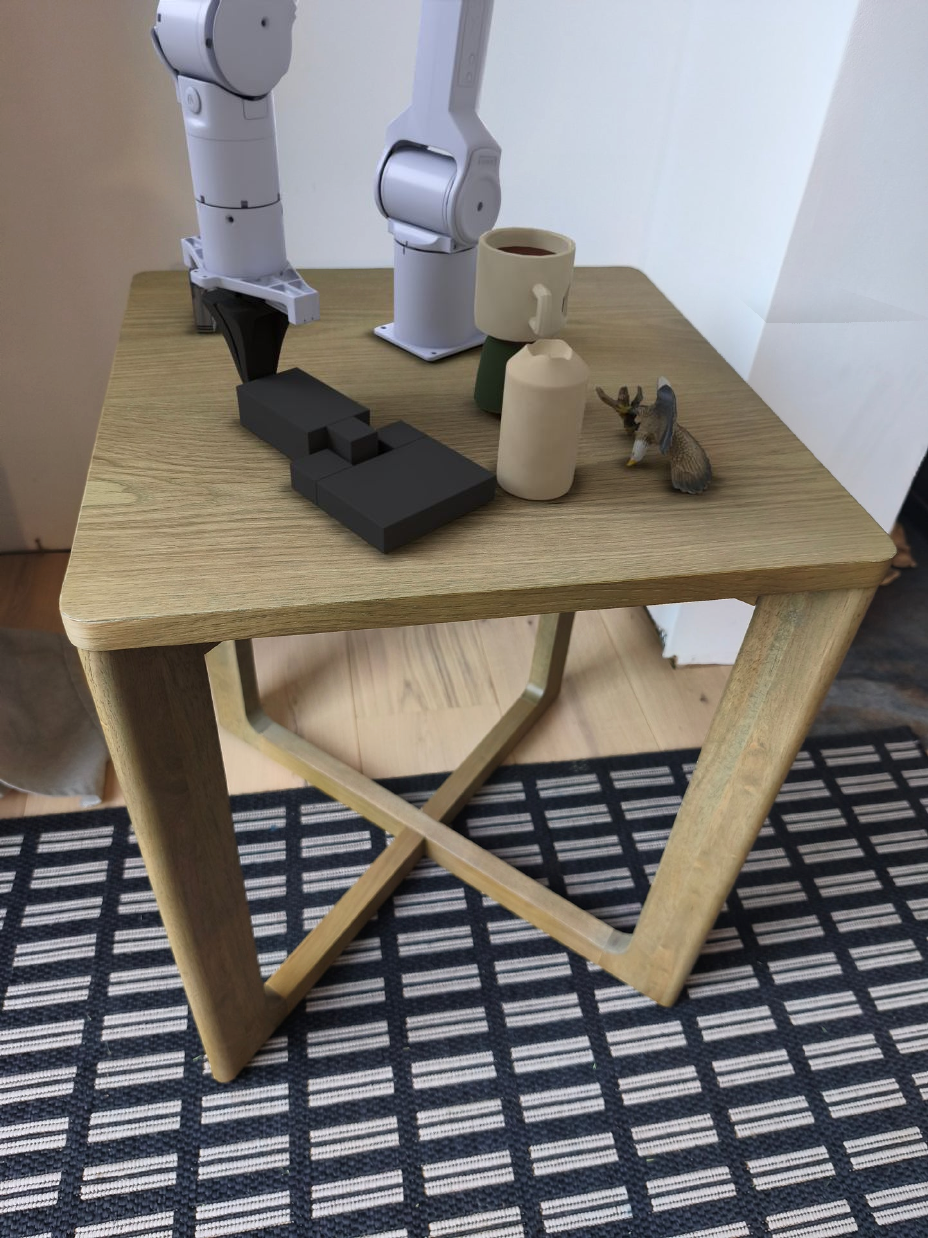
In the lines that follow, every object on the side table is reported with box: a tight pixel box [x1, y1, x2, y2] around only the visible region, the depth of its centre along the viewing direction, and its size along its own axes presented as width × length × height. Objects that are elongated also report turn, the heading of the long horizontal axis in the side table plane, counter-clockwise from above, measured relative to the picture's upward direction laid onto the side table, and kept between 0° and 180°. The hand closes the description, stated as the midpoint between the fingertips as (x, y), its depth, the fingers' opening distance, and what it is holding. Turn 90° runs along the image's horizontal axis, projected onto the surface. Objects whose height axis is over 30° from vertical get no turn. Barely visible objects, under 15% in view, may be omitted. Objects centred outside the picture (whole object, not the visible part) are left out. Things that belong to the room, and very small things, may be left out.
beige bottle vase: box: [496, 338, 591, 501], centre depth 58 cm, size 6×6×10 cm
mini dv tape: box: [188, 267, 218, 333], centre depth 79 cm, size 8×2×6 cm, turn 6°
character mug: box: [472, 226, 577, 414], centre depth 66 cm, size 11×7×13 cm, turn 14°
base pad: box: [289, 419, 498, 555], centre depth 59 cm, size 10×10×2 cm
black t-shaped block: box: [235, 366, 378, 466], centre depth 63 cm, size 6×12×3 cm, turn 44°
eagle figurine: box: [595, 375, 713, 495], centre depth 63 cm, size 8×7×9 cm
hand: (259, 385), depth 66 cm, fingers closed
